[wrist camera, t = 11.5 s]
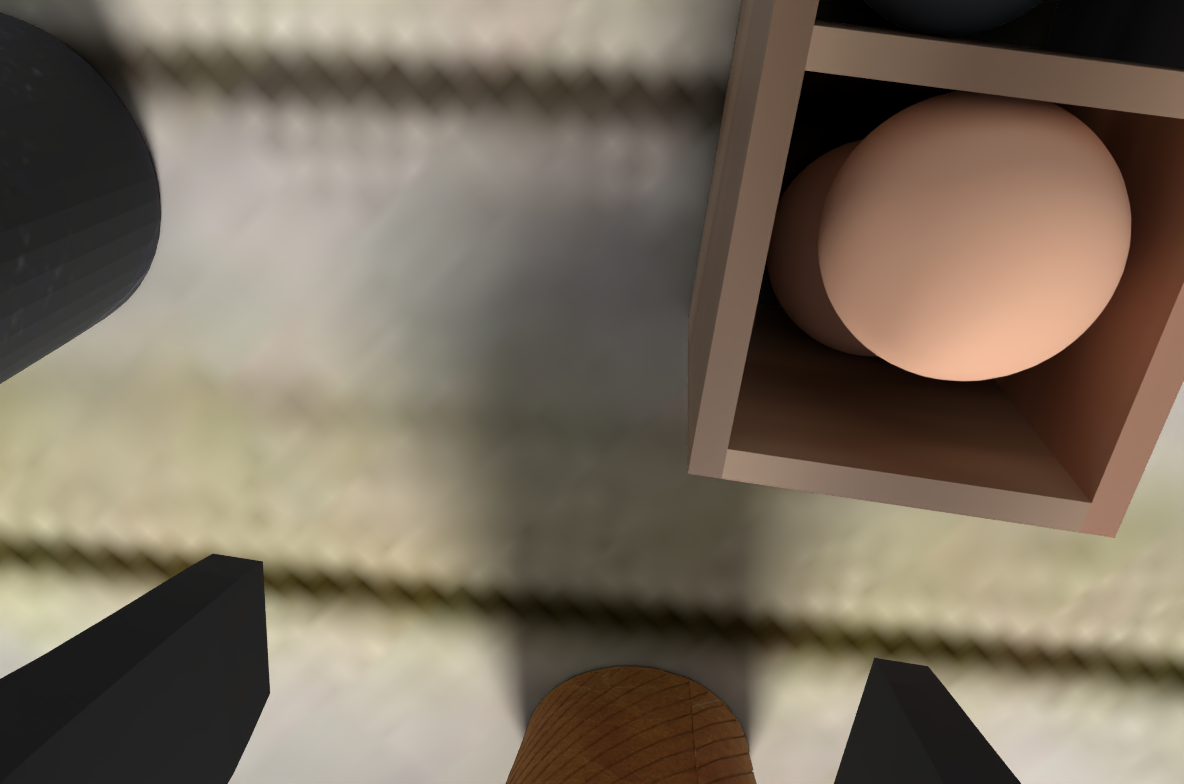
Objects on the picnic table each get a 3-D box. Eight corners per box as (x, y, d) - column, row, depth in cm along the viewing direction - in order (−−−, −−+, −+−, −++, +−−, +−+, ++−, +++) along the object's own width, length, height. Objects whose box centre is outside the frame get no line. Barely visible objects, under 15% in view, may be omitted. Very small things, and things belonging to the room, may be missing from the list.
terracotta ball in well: (1002, 115, 16) (1061, 225, 13) (929, 289, 19) (965, 414, 16) (788, 87, 17) (799, 191, 14) (746, 265, 19) (748, 384, 16)
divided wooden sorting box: (1193, -329, 14) (1610, -596, 8) (972, 356, 19) (1114, 537, 13) (804, -370, 14) (897, -663, 8) (688, 316, 19) (687, 473, 13)
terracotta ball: (1011, 223, 15) (1177, 47, 11) (1036, 440, 13) (1238, 314, 10) (784, 189, 15) (879, -2, 11) (780, 404, 13) (891, 262, 10)
